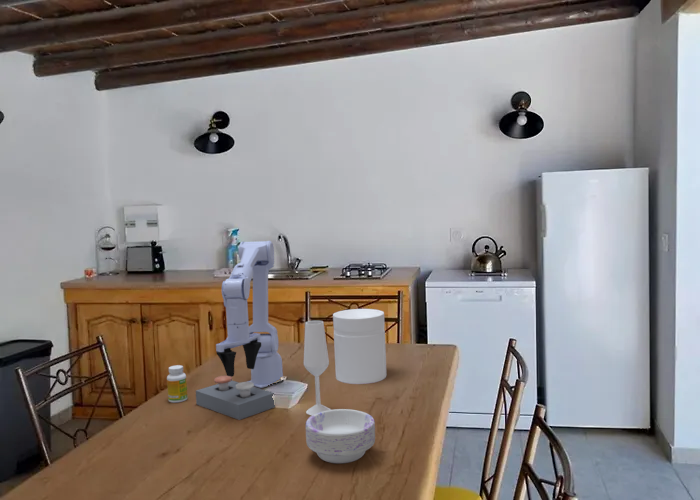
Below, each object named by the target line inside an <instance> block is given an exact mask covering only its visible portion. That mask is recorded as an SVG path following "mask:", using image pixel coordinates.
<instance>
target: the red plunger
mask: <svg viewBox="0 0 700 500" xmlns="http://www.w3.org/2000/svg"><path fill="white" fill-rule="evenodd" d="M213 380H214V383H216V384H218V385H219V391H225V390H229V383H228V382H230V381H233V376H232V377H231V376H227V375H219V376H217V377H214V379H213Z"/></svg>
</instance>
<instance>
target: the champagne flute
mask: <svg viewBox="0 0 700 500" xmlns="http://www.w3.org/2000/svg"><path fill="white" fill-rule="evenodd" d="M304 323H305V324H304V345H303V347H304V349H303V350H304V351H303V367H304V368H305V370H306V371H307V372H309V373H310V374H311V375H312V376H314V387H315V389H314V390H315V404H314V405H313V406H311V407H309V408H308V409H307V410H306V411H305V413H306V414H307V415H309V416H312V415H314V414H316V413H319V412H323V411H327V410H332V409H331V408H329V407H327V406H325V405H323V404H322V403H321V386H320V376H321V375H323V373H324V372H326V370H327V368H328V367H329V364H330V361H329V353H328V347H327V338H326V332H325V326H324V325H325V324H324V321H323V320H309V321H306V322H304Z"/></svg>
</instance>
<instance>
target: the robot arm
mask: <svg viewBox="0 0 700 500" xmlns="http://www.w3.org/2000/svg"><path fill="white" fill-rule="evenodd" d="M238 258H239V260H240V262H238V263H237V264H236V265H234V267H233V268H232V271H231V273H230V275H229V277H228V278H226V279H225V280H223V281H222V283H221V295H222V299H223V306H224V308H225V312H226V313H225V314H226V328H227V330H226V331H227V337H226V339H225V340H223V341H221V342H220V343H219V342H218V343H216V344H215V349H216V350H215V351H216V355H217V357H218V358H219V359H220V361H221V363H222V366H223V368H224V370H225V374H226V376H231V377H232V378H233V377H234V376H235V359H236V355H237V351H233V349H234V348H236V347H237V348H238V347H241V346H242V347H243V350H244V356H245V364H246V368H247V370H250V376H251V379H250V380H247V381H246V382H253V383H254V387H256V388H259V389H264V388H266V387H269V386H271V385H270V384H272V383H274V382H276V381H277V380H279V379H280V377H282V376H283V377H284V374H283V371H284V370H283V360H282V356H281V355H280V354H279V352H278V349H279V336H278V335H279V334H278V329H277V328H276V327H275V326H274V325H273V324H271V323H270V322H269V271H270V269H273V268H274V266H275V265H274V264H275V248H274V243H273V242H272V240H267V241H266V240H265V241H264V240H260V241H256V240H255V241H241V242H240V243H239V244H238ZM251 282H252V324H250V323H249V309H248V308H249V307H248V299H249V298H250V292H251V291H250V289H251ZM249 324H250V325H249ZM268 385H269V386H268ZM272 385H273V384H272Z"/></svg>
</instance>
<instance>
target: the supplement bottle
mask: <svg viewBox="0 0 700 500" xmlns="http://www.w3.org/2000/svg"><path fill="white" fill-rule="evenodd" d="M168 373H169V374H168V375H167V376H166V384H167V385H166V387H167V396H168V397H167V398H168V402H170V403H176V404H177V403H181V402H184V401H186V400H188V384H187V383H188V381H187V375H186V373H185V372H184V366H183V365H180V364H177V365H171V366H169V367H168Z"/></svg>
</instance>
